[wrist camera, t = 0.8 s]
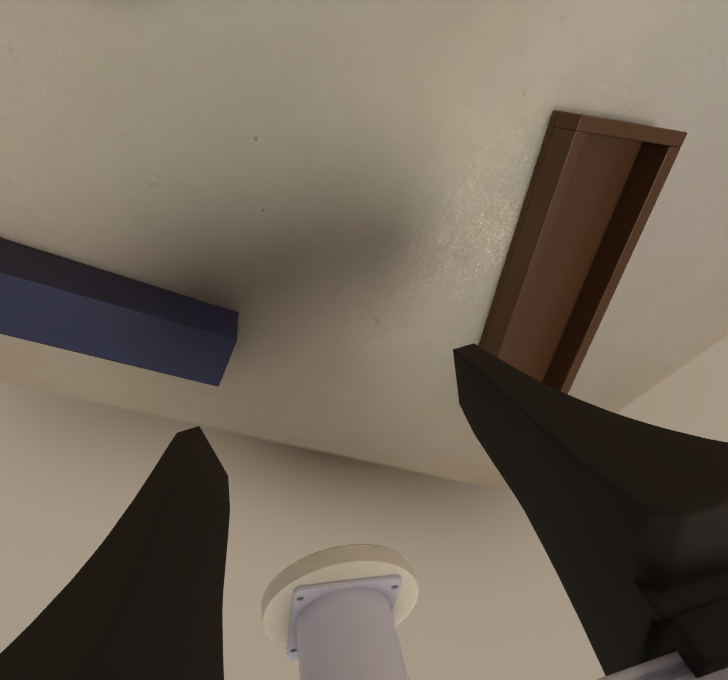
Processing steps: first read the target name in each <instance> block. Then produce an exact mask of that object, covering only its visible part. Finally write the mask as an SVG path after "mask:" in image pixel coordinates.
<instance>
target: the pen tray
mask: <svg viewBox="0 0 728 680" xmlns="http://www.w3.org/2000/svg"><path fill="white" fill-rule="evenodd" d="M686 135H687V133H686V132H681V131H675V130H670V129H664V128H658V127H652V126H646V125H640V124H635V123H629V122H623V121H617V120H611V119H606V118H600V117H594V116H588V115H582V114H575V113H568V112H561V111H554V112H553V114H552V118H551V121H550V124H549V127H548V130H547V133H546V137H545V140H544V143H543V146H542V149H541V152H540V156H539V159H538V162H537V165H536V168H535V171H534V175H533V178H532V181H531V184H530V187H529V190H528V194H527V197H526V200H525V203H524V206H523V209H522V212H521V216H520V219H519V222H518V225H517V228H516V231H515V235H514V238H513V241H512V244H511V247H510V250H509V254H508V257H507V260H506V263H505V266H504V269H503V273H502V276H501V279H500V282H499V285H498V288H497V292H496V295H495V298H494V301H493V304H492V307H491V311H490V314H489V317H488V320H487V323H486V326H485V329H484V333H483V336H482V339H481V342H480V345H479V347H481V348H482V349H484V350H486V351H487V352H489V353H491V354H493V355H494V356H496V357H498V358H499V359H501V360H503V361H504V362H506V363H508V364H509V365H511V366H513V367H515V368H516V369H518V370H520V371H522V372H524V373H525V374H527V375H529V376H531V377H533V378H535V379H537V380H539V381H541V382H542V383H544V384H546V385H548V386H551V387H553V388H555V389H557V390H559V391H561V392H563V393H565V394H568V392H569V390H570V388H571V386H572V383H573V381H574V379H575V377H576V375H577V373H578V370H579V368H580V366H581V364H582V362H583V359H584V357H585V355H586V353H587V351H588V349H589V346H590V344H591V342H592V340H593V338H594V335H595V333H596V331H597V329H598V327H599V325H600V322H601V320H602V318H603V316H604V314H605V311H606V309H607V307H608V305H609V303H610V301H611V298H612V296H613V294H614V292H615V290H616V288H617V285H618V283H619V281H620V279H621V277H622V274H623V272H624V270H625V268H626V266H627V264H628V261H629V259H630V257H631V255H632V253H633V250H634V248H635V246H636V244H637V242H638V240H639V237H640V235H641V233H642V231H643V229H644V226H645V224H646V222H647V220H648V218H649V216H650V213H651V211H652V209H653V207H654V205H655V203H656V200H657V198H658V196H659V194H660V192H661V189H662V187H663V185H664V183H665V181H666V179H667V176H668V174H669V172H670V170H671V168H672V165H673V163H674V161H675V159H676V157H677V155H678V152H679V150H680V147H681V146H682V144H683V141H684V139H685V137H686Z"/></svg>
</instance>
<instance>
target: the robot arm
mask: <svg viewBox="0 0 728 680" xmlns="http://www.w3.org/2000/svg"><path fill="white" fill-rule="evenodd" d="M453 353H454V362H455V370H456V378H457V386H458V395H459V403H460V406H461V408H462V410H463V412H464V414H465V416H466V418H467V420H468V422H469V424H470V426H471V428H472V430H473V432H474V434H475V436H476V437H477V439H478V440H479V442H480V443H481V445H482V446H483V448H484V449H485V451H486V453H487V454H488V456H489V457H490V459H491V460H492V462H493V463H494V465H495V466H496V468H497V469H498V471H499V472H500V474H501V475H502V477H503V478H504V480H505V481H506V483H507V484H508V486H509V487H510V489H511V490H512V492H513V493H514V495H515V496H516V498H517V499H518V501H519V503H520V504H521V506H522V508H523V509H524V511H525V513H526V514H527V516H528V518H529V520H530V522H531V524H532V526H533V528H534V530H535V532H536V533H537V535H538V537H539V539H540V541H541V543H542V545H543V547H544V549H545V551H546V553H547V555H548V556H549V559H550V560H551V563H552V564H553V566H554V568H555V570H556V572H557V574H558V576H559V578H560V580H561V582H562V584H563V586H564V588H565V590H566V593H567V595H568V597H569V598H570V601H571V603H572V605H573V607H574V609H575V611H576V613H577V615H578V617H579V619H580V621H581V623H582V625H583V628H584V630H585V632H586V634H587V636H588V638H589V641H590V643H591V645H592V647H593V649H594V651H595V654H596V656H597V658H598V660H599V662H600V664H601V666H602V669H603V671H604V673H605V675H606V676H605V677H603V678H600V679H597V680H728V443H727V442H722V441H716V440H711V439H706V438H702V437H698V436H694V435H689V434H685V433H681V432H677V431H673V430H669V429H665V428H661V427H658V426H654V425H651V424H647V423H644V422H641V421H638V420H634V419H631V418H628V417H624V416H622V415H619V414H616V413H613V412H610V411H607V410H605V409H602V408H600V407H597V406H594V405H592V404H589V403H587V402H584V401H582V400H579V399H577V398H574V397H572V396H570V395H568V394H565V393H563V392H561V391H559V390H557V389H555V388H553V387H551V386H548V385H546V384H544V383H542V382H541V381H539V380H537V379H535V378H533V377H531V376H529V375H527V374H525V373H524V372H522V371H520V370H518V369H516V368H515V367H513V366H511V365H509V364H508V363H506V362H504V361H503V360H501V359H499V358H498V357H496V356H494V355H493V354H491V353H489V352H487V351H486V350H484V349H482V348H481V347H479V346H477V345H476V344H470V345H467V346H464V347H460V348H457V349H454V350H453ZM229 515H230V502H229V484H228V475H227V473H226V471H225V470H224V468H223V466H222V465H221V463H220V461H219V459H218V458H217V456H216V454H215V452H214V451H213V449H212V447H211V446H210V444H209V442H208V440H207V438H206V437H205V435H204V433H203V432H202V430H201V428H200V426H198V427H195V428H191V429H188V430H185V431H182V432H178V433H177V434H176V435H175V437H174V438H173V440H172V441H171V443H170V444H169V446H168V448H167V449H166V450H165V452H164V454H163V455H162V457H161V458H160V460H159V462H158V463H157V465H156V466H155V468H154V470H153V471H152V473H151V474H150V476H149V477H148V479H147V480H146V482H145V483H144V485H143V486H142V488H141V489H140V491H139V492H138V494H137V495H136V497H135V498H134V500H133V501H132V503H131V504H130V505H129V507H128V508H127V510H126V511H125V513H124V514H123V515H122V517H121V518H120V519H119V521H118V522H117V524H116V525H115V526H114V528H113V529H112V531H111V532H110V534H109V535H108V536H107V537H106V539H105V540H104V541H103V543H102V544H101V545H100V546H99V548H98V549H97V550H96V551H95V553H94V554H93V555H92V556H91V558H90V559H89V560H88V561H87V562H86V563H85V565H84V566H83V567H82V568H81V569H80V571H79V572H78V573H77V574H76V575H75V577H74V578H73V579H72V580H71V581H70V582H69V583H68V585H67V586H66V587H65V588H64V589H63V590H62V591H61V592H60V593H59V594H58V595H57V596H56V597H55V598H54V600H53V601H52V602H51V603H50V604H49V605H48V606H47V607H46V608H45V609H44V610H43V611H42V613H40V615H39V616H38V617H37V618H36V619H35V620H34V621H33V622H32V623H31V624H30V625H29V626H28V627H27V628H26V629H25V630H24V631H23V632H22V633H21V634H20V635H19V636H18V637H17V638H16V639H15V640H14V641H13V642H12V643H11V644H10V645H9V646H8V647H7V648H6V649H5V650H4V651H3V652H1V653H0V680H224V672H223V671H224V669H223V634H222V633H223V632H222V631H223V630H222V605H223V602H222V601H223V587H224V575H225V564H226V552H227V541H228V529H229ZM401 583H402V579H401V576H400V575H388V576H379V577H371V578H362V579H354V580H345V581H337V582H328V583H320V584H311V585H303V586H298V587H296V588H295V589H294V591H293V599H292V608H291V617H290V626H289V635H288V644H287V659H289V660H294V659H299V672H300V680H409V679H408V676H407V672H406V668H405V664H404V660H403V656H402V652H401V648H400V644H399V640H398V636H397V632H396V628H395V624H394V620H393V616H392V612H393V609H394V606H395V603H396V599H397V596H398V593H399V590H400V587H401Z"/></svg>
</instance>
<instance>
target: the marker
mask: <svg viewBox="0 0 728 680" xmlns="http://www.w3.org/2000/svg"><path fill="white" fill-rule="evenodd" d="M238 316H239V313H238V312H234V311H231V310H228V309H225V308H222V307H218V306H215V305H212V304H209V303H206V302H202V301H199V300H196V299H193V298H190V297H186V296H183V295H180V294H177V293H174V292H170V291H167V290H164V289H161V288H158V287H154V286H151V285H148V284H145V283H142V282H138V281H135V280H132V279H129V278H126V277H122V276H119V275H116V274H113V273H110V272H106V271H103V270H100V269H97V268H94V267H90V266H87V265H84V264H81V263H78V262H74V261H71V260H68V259H65V258H62V257H58V256H55V255H52V254H49V253H46V252H42V251H39V250H36V249H33V248H29V247H26V246H23V245H20V244H17V243H13V242H10V241H7V240H4V239H1V238H0V334H4V335H8V336H12V337H16V338H20V339H24V340H29V341H33V342H37V343H41V344H45V345H49V346H53V347H57V348H62V349H66V350H70V351H74V352H78V353H82V354H86V355H90V356H94V357H99V358H103V359H107V360H111V361H115V362H119V363H123V364H127V365H132V366H136V367H140V368H144V369H148V370H152V371H156V372H160V373H165V374H169V375H173V376H177V377H181V378H185V379H189V380H193V381H197V382H202V383H206V384H210V385H214V386H219V384H220V381H221V379H222V376H223V374H224V371H225V369H226V366H227V364H228V361H229V359H230V356H231V354H232V351H233V349H234V346H235V344H236V341H237V330H238Z"/></svg>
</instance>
